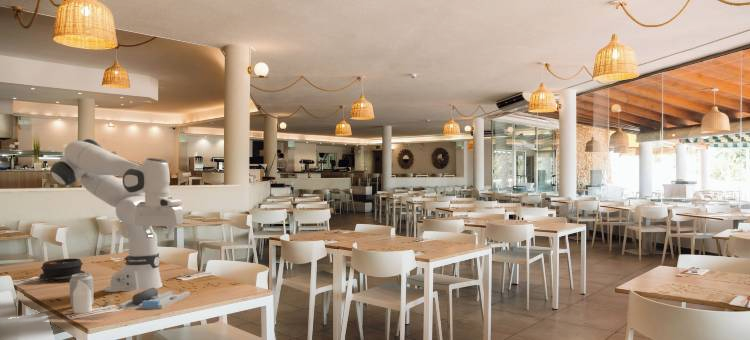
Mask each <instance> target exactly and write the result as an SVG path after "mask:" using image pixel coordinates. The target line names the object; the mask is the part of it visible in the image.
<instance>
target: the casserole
mask: <svg viewBox="0 0 750 340" xmlns="http://www.w3.org/2000/svg"><path fill="white" fill-rule="evenodd" d="M83 264H84V263H83V262H82V260H81V259H80V258H62V259H61V258H60V259H55V260H49V261H44V262H43V263H42V266H41V267H40V269H41V270H42V272H43V273H40V274H39V277H38V279H41V280H47V281H49V280H53V281H52V282H59V281H58V280H63V281H68V280H67V279H69V280H70V279H71V278H72V275H74V274H80V273H86V272H85V271H84V270H82V266H83Z"/></svg>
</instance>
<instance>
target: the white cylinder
mask: <svg viewBox="0 0 750 340" xmlns="http://www.w3.org/2000/svg"><path fill="white" fill-rule="evenodd" d="M72 309H73V313H74V314H83V313H85V314H86V313H89V312H92V311H93V304H92V297H91V290H90V289H89V287H88V286H87V285H86V284H85V283H83V282H82V281H80V280H78V283H77V286H76V289H75V290H74V292H73V308H72Z"/></svg>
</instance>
